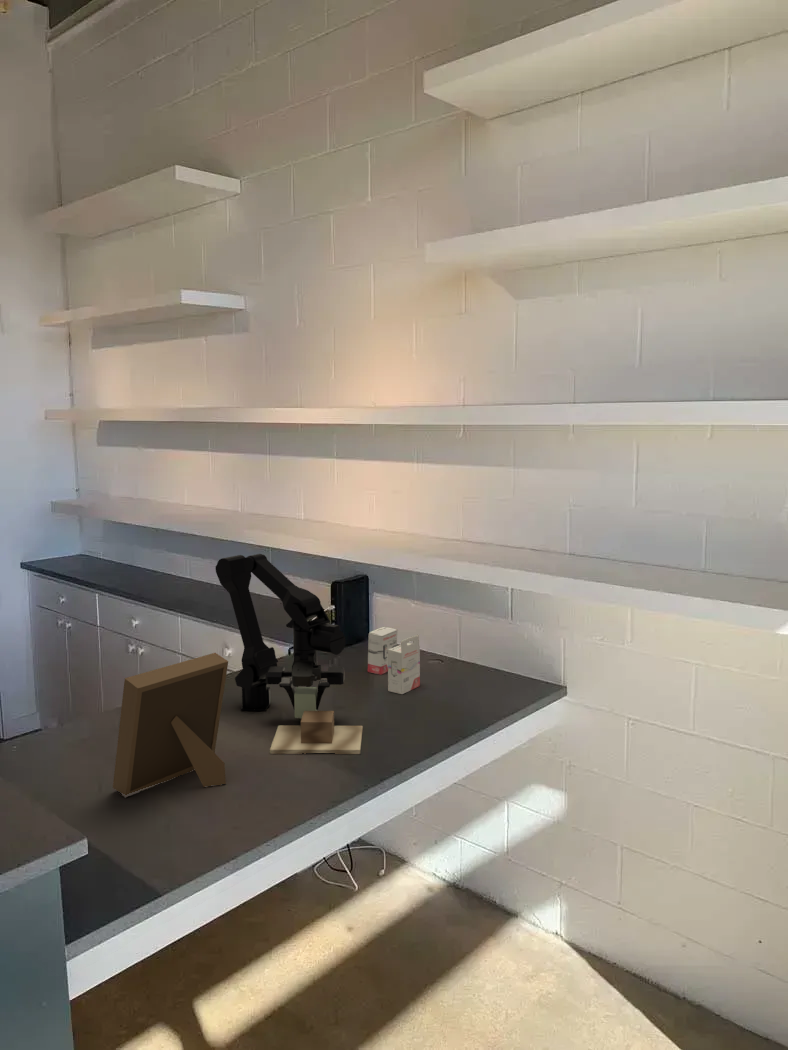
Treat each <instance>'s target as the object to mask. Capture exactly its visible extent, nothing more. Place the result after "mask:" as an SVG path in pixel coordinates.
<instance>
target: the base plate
mask: <svg viewBox="0 0 788 1050" xmlns="http://www.w3.org/2000/svg"><path fill="white" fill-rule="evenodd" d="M363 728H364V727H363V725H335V710H317V711H304V713H303V716H302V718H300V725H290V724H289V725H286V724H285V725H277V729H276V730H275V731H276V732H275V735H274V737H273V739H272V742H271V745H270V746H271V747H269V754H270V755H307V754H306V753H335V754H334V755H361V749H362V742H363V741H362V738H363V730H364V729H363ZM302 753H304V754H302Z"/></svg>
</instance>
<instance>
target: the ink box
mask: <svg viewBox="0 0 788 1050" xmlns="http://www.w3.org/2000/svg"><path fill="white" fill-rule="evenodd" d="M367 643H368V645H367V647H368V648H367V649H368V651H367V673H370V674H371V673H372V674H375V675H381V676H382V675H383V674H386V673H388V649H391V648H393V647H396V646H398V629H397V628H393V627H389V626H382V627H379V628H377V629H374V630H372V631H371V630H370V631H369V633H368V641H367Z"/></svg>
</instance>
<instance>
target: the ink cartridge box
mask: <svg viewBox="0 0 788 1050" xmlns="http://www.w3.org/2000/svg"><path fill="white" fill-rule="evenodd" d="M419 635H420V634H417V635H413V636H411V637H408V638H406V639H405V638H404V639H403V640H401V641H400V644H399V645H397V646H396V647H393V648H391V649H388V672H387V686H388V687H387V690H388V692H390V693H395V694H399V695H403V694H405V693H408V692H410V691H412V690H415V689H417V688H419V687H420V686H421V684H420V683H421V681H420V679H421V678H420V677H421V674H420V673H421V668H420V667H421V661H420V659H421V658H420V657H421V654H420V653H421V649H420V648H421V646H420V636H419ZM411 642H412V643H411Z"/></svg>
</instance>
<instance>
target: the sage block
mask: <svg viewBox="0 0 788 1050" xmlns="http://www.w3.org/2000/svg"><path fill="white" fill-rule="evenodd" d="M317 692H318V686H310V687H306V686H298V687H295V694H294V706H295V710H294V719H302V716H303V713H304V711H318V710H316V700H317Z"/></svg>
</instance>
